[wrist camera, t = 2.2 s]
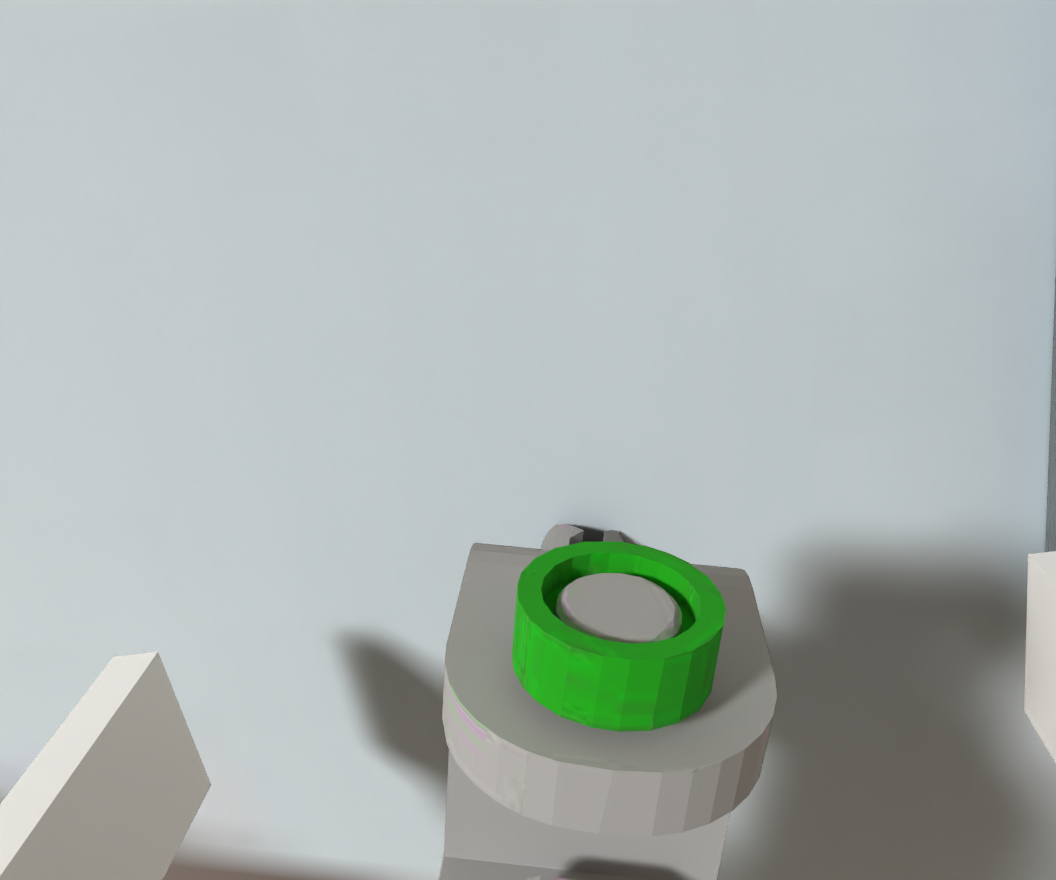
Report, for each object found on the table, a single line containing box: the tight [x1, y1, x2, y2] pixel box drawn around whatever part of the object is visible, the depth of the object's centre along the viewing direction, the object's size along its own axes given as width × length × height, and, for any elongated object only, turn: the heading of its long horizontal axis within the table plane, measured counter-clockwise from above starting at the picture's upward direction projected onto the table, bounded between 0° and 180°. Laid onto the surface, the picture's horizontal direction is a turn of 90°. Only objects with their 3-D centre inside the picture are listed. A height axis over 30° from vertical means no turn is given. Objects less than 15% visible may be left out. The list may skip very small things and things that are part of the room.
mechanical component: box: [439, 524, 777, 880], centre depth 13 cm, size 3×10×10 cm, turn 176°
